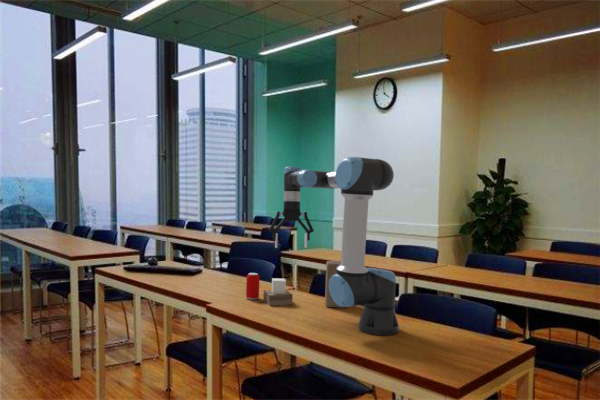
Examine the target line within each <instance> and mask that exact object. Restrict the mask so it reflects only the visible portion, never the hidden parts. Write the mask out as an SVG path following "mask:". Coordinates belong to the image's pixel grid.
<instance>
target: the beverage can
mask: <svg viewBox="0 0 600 400" xmlns="http://www.w3.org/2000/svg"><path fill="white" fill-rule="evenodd" d="M245 286H246V287H245V291H246V292H245V297H246V299H248V300H252V301H253V300H258V298H260V275H259V273H256V272H249V273H248V274H247V275H246V285H245Z"/></svg>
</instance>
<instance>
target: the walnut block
mask: <svg viewBox="0 0 600 400" xmlns="http://www.w3.org/2000/svg"><path fill="white" fill-rule="evenodd" d="M293 299H294V298H293V293H291V292H290V291H289V290H287V289H286V294H273V293H272V289H269V290H268V289H266V290H265V289H264V290H263V301H264V302H265V303H266V305H268V306H271V305H273V306H289V305H288V304H292V305H293ZM271 307H272V306H271Z"/></svg>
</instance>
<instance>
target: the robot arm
mask: <svg viewBox="0 0 600 400" xmlns="http://www.w3.org/2000/svg"><path fill="white" fill-rule="evenodd" d="M283 171H284V174H283V210H282V211H276V212H275V213H276V214H275V218H274V219H273V221H272V223H271V225H270V226H269V228H268V231H269V232H270V233H272V240H273V241H275V242H274V248H275V249H277V248H278V235H279V234H278V233H277V232H278V231H279V230H280V228H281V227H282V226H283V225H284V223H286V222H298V224H299V225H300V227H302V228H303V230H304V231H305V233H304V248H305V249H308V241H310V239H311V238H310V234H311V233H313V232H315V229H314V228H313V226H312V224H311V221H310V220H309V217H308V212H307V211H303V212H302V211H301V202H300V201H301V188H309V189H310V188H312V189H330V190H331V189H333V190H334V189H340V194H341V195H342V197H343V199H344V205H343V206H344V207H343V222H342V223H343V224H342V237H341V253H340V255H341V256H340V261H341V264H340V265H339V266H338V267H337V268H336V274H334V275H333V276H331V278H330V280H329V292H330V295H331V297H332V299H333V301H334V302H335V303H336V304H337V305H339V306H342V307H345V306H347V308H348V307H349V308H350V307H356V306H362V305H363V309H362V313H361V315H360V319H359V321H358V329H359V330H360V331H361V332H363V333H366V334H370V335H376V336H391V335H392V336H393V335H395V334H398V333H399V331H400V330H399V329H400V326H399V325H400V324H399V322H398V318H397V315H396V289H397V288H396V287H397V286H396V285H397V282H396V278H397V277H396V274H395V272H393V271H391V270H387V269H382V268H374V267H366V266H365V259H366V247H367V246H366V243H367V232H368V231H367V229H368V213H369V201H370V199H372V198H373V197H374V191H382V190H385V189H387V188H389V187H390V186H391V184H392V183H393V180H394V169H393V167H392V166H391V165H390V163H388V161H385V160H384V159H379V158H368V157H359V156H355V157H354V156H350V157H346V158H344V159H342V160H341V161H340V163H338V165H337V167H336V170H329V171H322V170H321V171H320V170H312V169H301V167H300V166H285V167H284V170H283ZM281 216H283V218H282V220H281V221H280V222H279V223H278V225H277V222H278V220H279V218H280V217H281ZM301 216H302V217H303V218H304V220H305V223H306V225H307V226H306V225H305V224H304V223H303V221H302V220H301V218H300V217H301ZM276 225H277V226H276ZM275 226H276V227H275ZM274 227H275V228H274Z"/></svg>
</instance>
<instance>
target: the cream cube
mask: <svg viewBox="0 0 600 400" xmlns="http://www.w3.org/2000/svg"><path fill="white" fill-rule="evenodd" d="M271 290H272V293H273V294H286V290H287V280H286V278H277V277H276V278H274V277H271Z"/></svg>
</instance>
